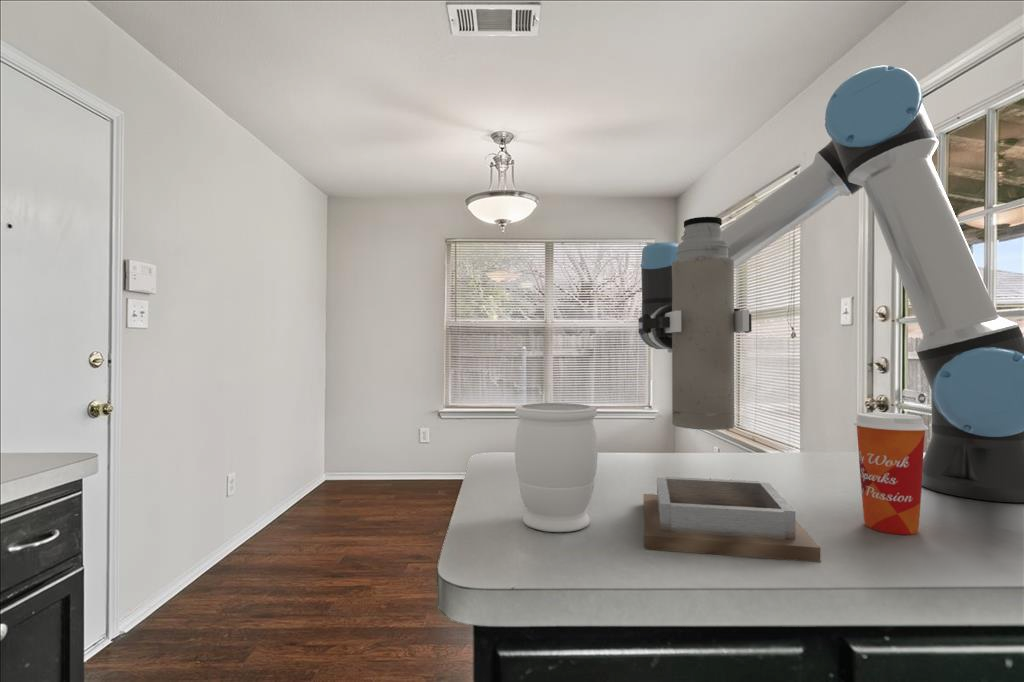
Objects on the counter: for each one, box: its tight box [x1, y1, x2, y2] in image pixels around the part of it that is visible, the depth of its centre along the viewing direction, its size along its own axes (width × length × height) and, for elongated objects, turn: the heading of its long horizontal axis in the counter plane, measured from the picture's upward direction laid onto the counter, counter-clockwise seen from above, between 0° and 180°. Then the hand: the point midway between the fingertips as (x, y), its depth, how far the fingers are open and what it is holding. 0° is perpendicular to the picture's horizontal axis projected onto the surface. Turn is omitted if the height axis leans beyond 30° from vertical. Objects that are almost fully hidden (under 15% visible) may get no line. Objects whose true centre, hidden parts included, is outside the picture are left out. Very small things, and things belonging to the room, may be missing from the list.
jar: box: [514, 402, 599, 533], centre depth 72 cm, size 11×10×15 cm
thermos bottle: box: [671, 216, 736, 431], centre depth 76 cm, size 8×8×28 cm
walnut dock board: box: [643, 493, 822, 563], centre depth 70 cm, size 18×18×2 cm
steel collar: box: [656, 476, 797, 540], centre depth 70 cm, size 14×14×3 cm
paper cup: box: [853, 411, 929, 536], centre depth 70 cm, size 8×8×14 cm
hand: (711, 320), depth 71 cm, fingers closed on thermos bottle, 8 cm apart
